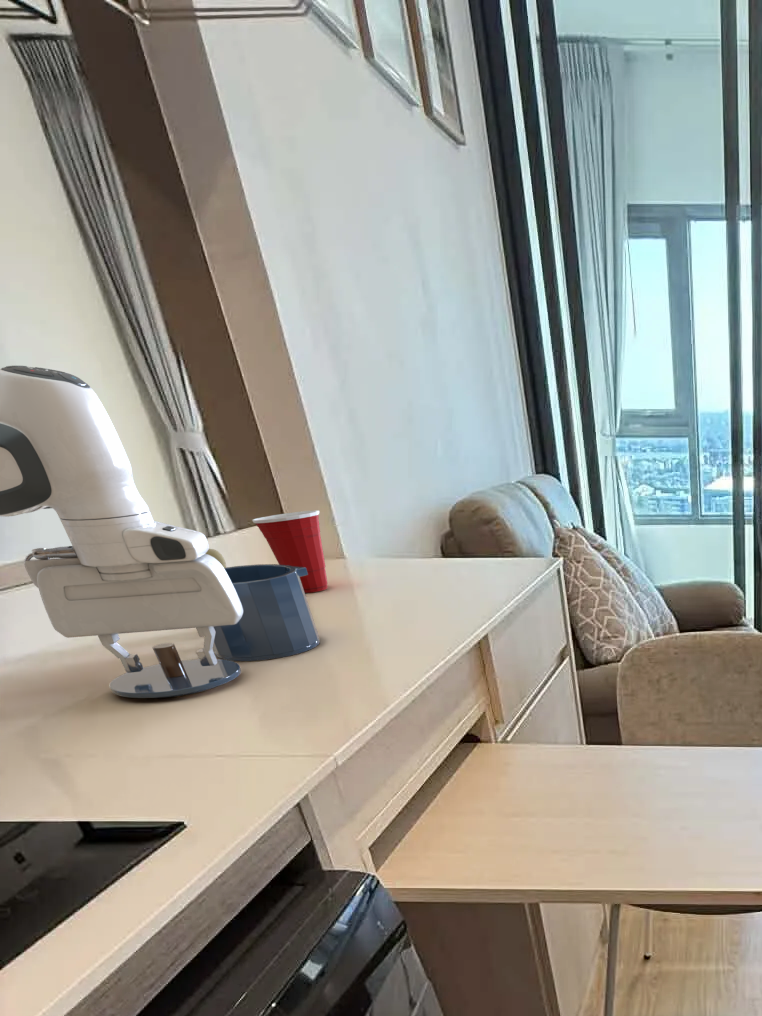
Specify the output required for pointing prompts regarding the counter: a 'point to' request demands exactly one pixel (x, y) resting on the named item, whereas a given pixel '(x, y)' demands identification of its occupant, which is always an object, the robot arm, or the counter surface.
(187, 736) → the counter surface
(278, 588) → the pot
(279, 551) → the plastic cup
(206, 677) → the lid
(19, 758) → the counter surface
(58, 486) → the robot arm
